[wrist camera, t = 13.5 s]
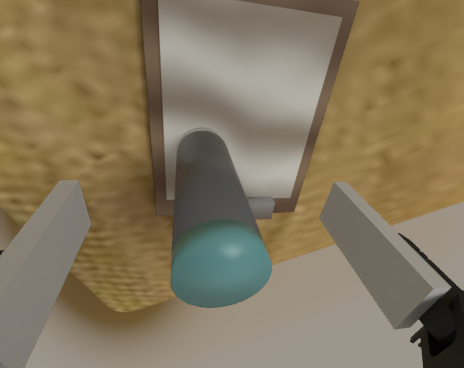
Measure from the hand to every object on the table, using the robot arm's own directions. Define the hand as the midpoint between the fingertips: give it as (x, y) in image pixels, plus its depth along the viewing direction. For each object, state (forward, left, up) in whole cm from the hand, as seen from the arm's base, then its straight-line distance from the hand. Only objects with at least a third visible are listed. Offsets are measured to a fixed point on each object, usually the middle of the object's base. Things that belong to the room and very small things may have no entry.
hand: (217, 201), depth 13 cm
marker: (+1, 0, -8) cm, 8 cm away
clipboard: (-2, +3, -9) cm, 9 cm away
